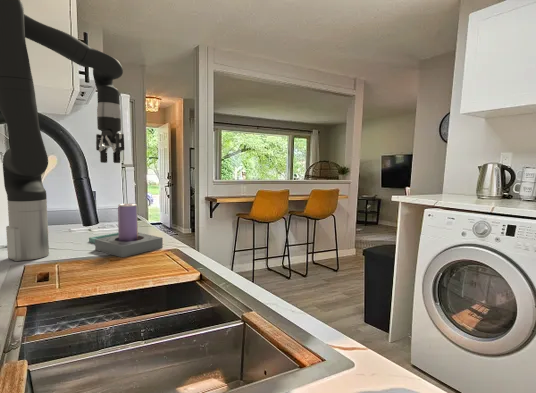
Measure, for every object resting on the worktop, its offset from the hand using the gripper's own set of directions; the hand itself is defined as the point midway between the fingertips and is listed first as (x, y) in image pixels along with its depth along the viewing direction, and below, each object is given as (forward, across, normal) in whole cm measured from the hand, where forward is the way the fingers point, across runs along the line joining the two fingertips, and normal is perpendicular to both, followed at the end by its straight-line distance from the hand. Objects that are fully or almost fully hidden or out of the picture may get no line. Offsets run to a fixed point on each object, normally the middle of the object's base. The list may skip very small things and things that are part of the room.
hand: (110, 162), depth 113 cm
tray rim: (+29, +1, 0) cm, 29 cm away
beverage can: (+29, +14, -2) cm, 32 cm away
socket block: (+29, +15, -2) cm, 32 cm away
